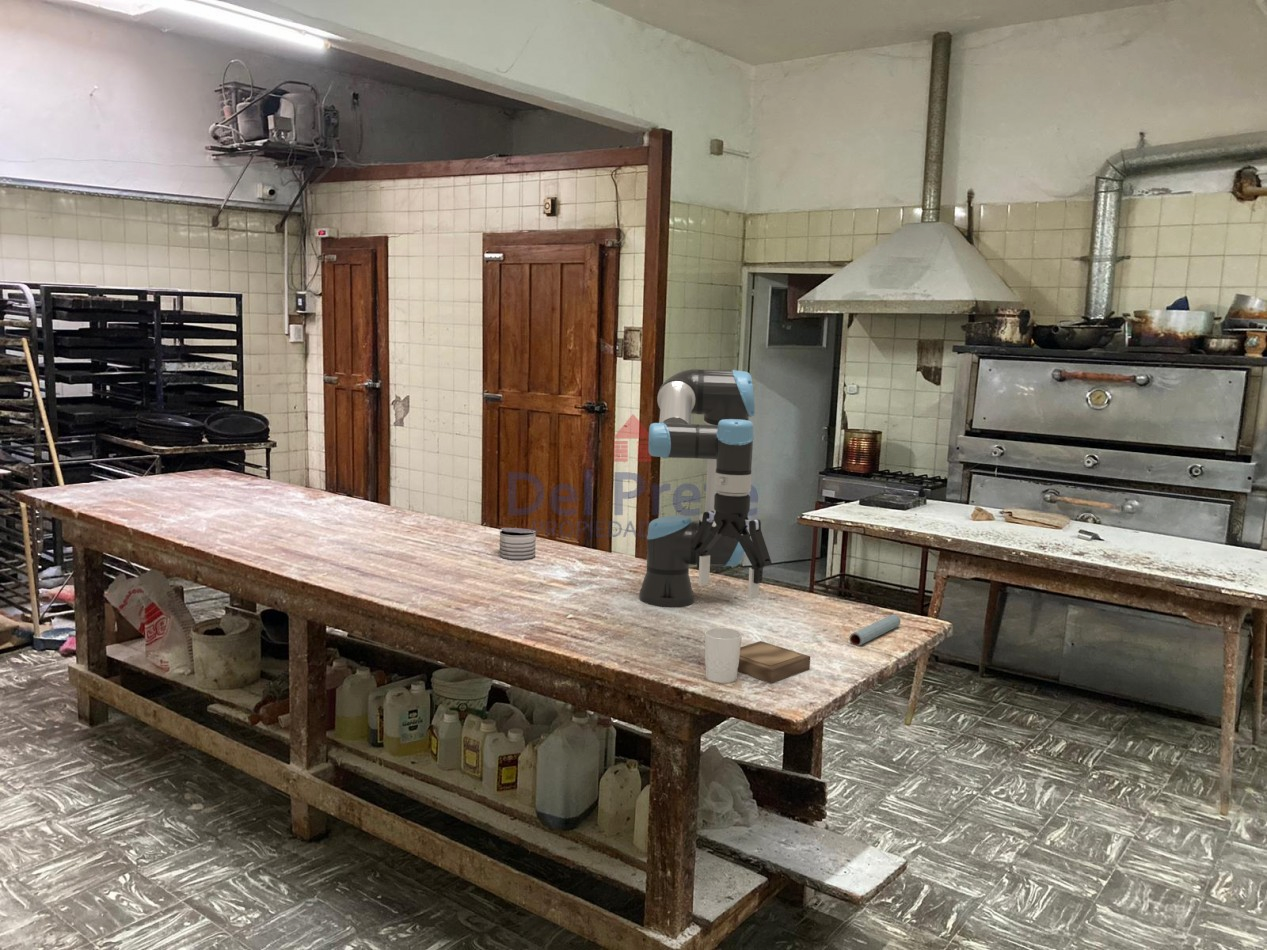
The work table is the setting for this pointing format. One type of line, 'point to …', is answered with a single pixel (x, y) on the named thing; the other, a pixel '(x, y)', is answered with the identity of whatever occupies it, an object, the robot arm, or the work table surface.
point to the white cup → (722, 654)
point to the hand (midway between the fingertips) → (727, 591)
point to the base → (771, 662)
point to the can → (517, 544)
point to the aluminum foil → (874, 630)
